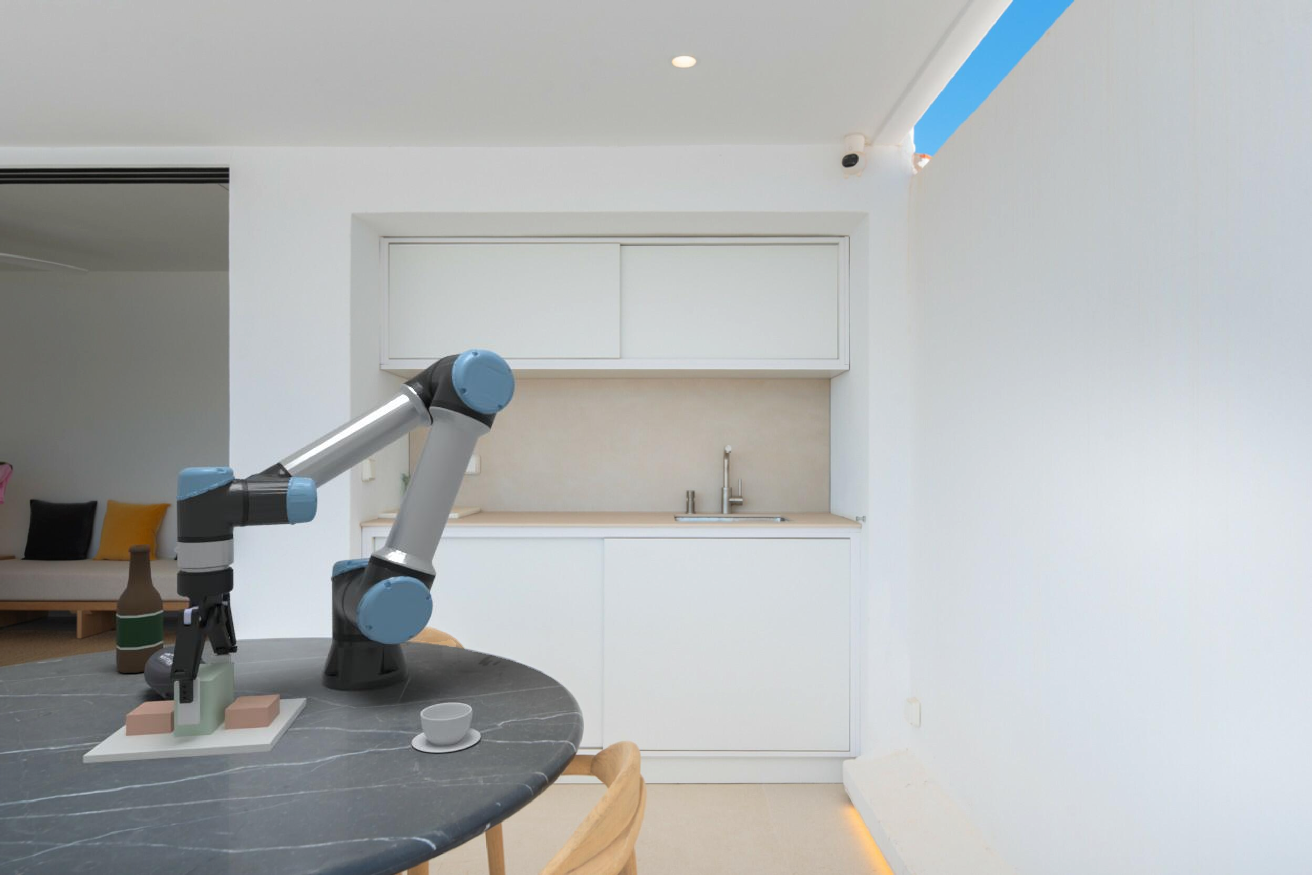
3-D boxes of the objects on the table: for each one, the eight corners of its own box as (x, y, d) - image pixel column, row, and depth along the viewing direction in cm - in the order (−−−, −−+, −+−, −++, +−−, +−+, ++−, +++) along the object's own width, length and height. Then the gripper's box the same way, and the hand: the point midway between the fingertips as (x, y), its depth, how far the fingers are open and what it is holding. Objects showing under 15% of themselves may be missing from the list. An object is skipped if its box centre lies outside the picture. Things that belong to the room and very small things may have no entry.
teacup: (444, 761, 109) (444, 727, 109) (396, 746, 114) (396, 714, 114) (495, 737, 118) (494, 706, 118) (448, 724, 123) (448, 695, 123)
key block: (199, 714, 124) (199, 663, 124) (233, 712, 125) (233, 662, 125) (174, 736, 114) (174, 682, 114) (211, 734, 115) (211, 680, 115)
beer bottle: (172, 663, 156) (172, 543, 156) (135, 675, 148) (135, 549, 148) (144, 660, 158) (144, 542, 158) (106, 671, 151) (106, 547, 151)
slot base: (306, 705, 132) (306, 680, 132) (269, 751, 112) (269, 722, 112) (149, 714, 127) (149, 688, 127) (83, 764, 108) (82, 734, 108)
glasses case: (133, 692, 139) (132, 648, 139) (198, 678, 146) (198, 637, 146) (163, 716, 126) (163, 668, 126) (233, 700, 134) (233, 655, 134)
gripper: (209, 556, 131) (209, 685, 131) (141, 582, 107) (141, 740, 107) (257, 555, 132) (257, 682, 132) (201, 580, 108) (201, 736, 108)
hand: (205, 708), depth 120 cm, fingers open, 12 cm apart
